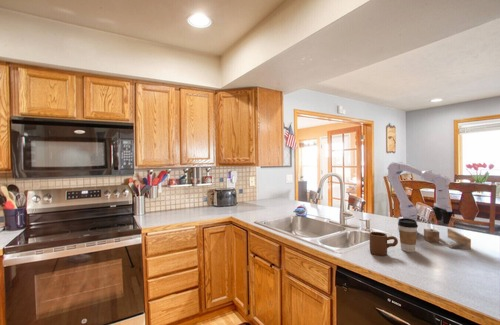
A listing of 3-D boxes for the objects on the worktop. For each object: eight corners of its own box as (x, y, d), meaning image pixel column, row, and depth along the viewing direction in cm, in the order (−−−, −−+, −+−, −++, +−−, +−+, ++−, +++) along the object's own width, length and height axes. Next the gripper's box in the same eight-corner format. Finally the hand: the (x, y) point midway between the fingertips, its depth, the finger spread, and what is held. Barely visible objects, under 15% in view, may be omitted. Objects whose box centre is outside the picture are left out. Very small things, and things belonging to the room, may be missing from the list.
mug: (397, 253, 116) (397, 234, 116) (398, 259, 109) (398, 238, 109) (369, 249, 122) (369, 230, 122) (369, 254, 115) (369, 235, 115)
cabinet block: (427, 242, 130) (427, 230, 130) (424, 239, 135) (423, 227, 135) (439, 243, 129) (439, 230, 129) (435, 240, 133) (435, 228, 133)
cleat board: (449, 247, 122) (449, 238, 122) (431, 236, 140) (431, 227, 140) (470, 249, 119) (470, 239, 119) (450, 237, 138) (450, 228, 138)
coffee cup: (416, 248, 122) (415, 218, 122) (420, 254, 114) (419, 223, 114) (397, 246, 126) (396, 217, 125) (399, 251, 118) (399, 221, 118)
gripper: (458, 200, 127) (458, 225, 127) (443, 195, 141) (443, 218, 141) (442, 199, 129) (443, 224, 129) (429, 195, 143) (429, 218, 143)
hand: (442, 221), depth 135 cm, fingers open, 7 cm apart
